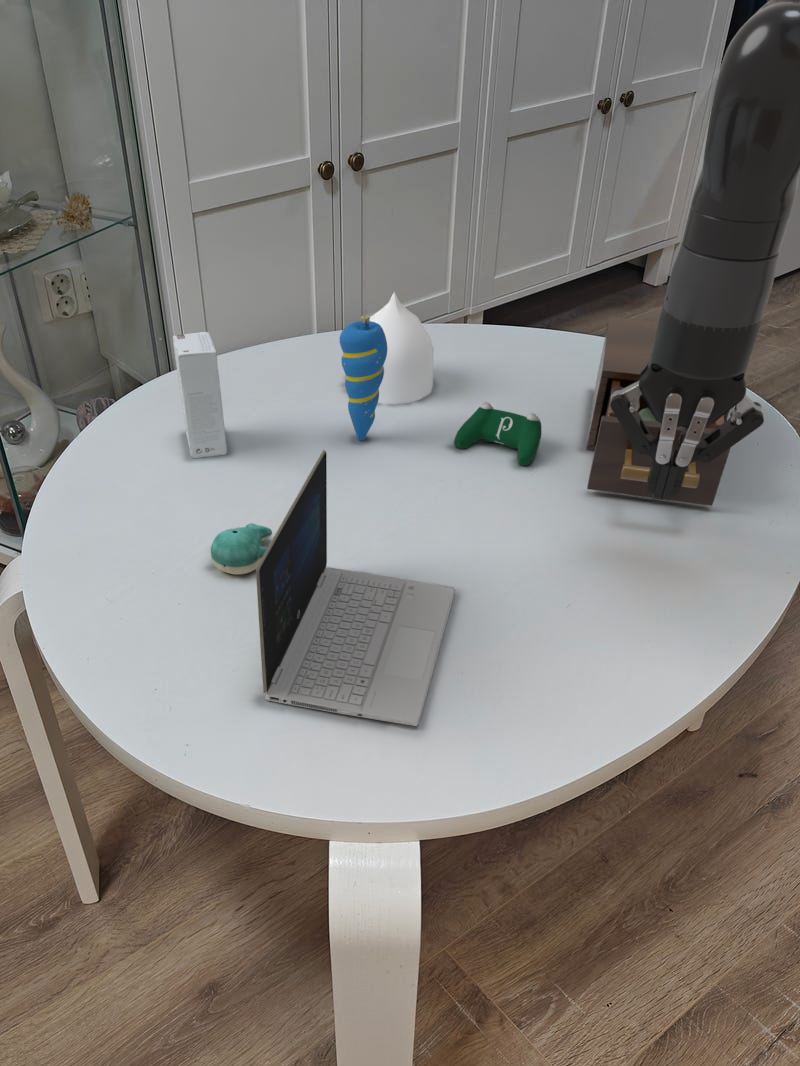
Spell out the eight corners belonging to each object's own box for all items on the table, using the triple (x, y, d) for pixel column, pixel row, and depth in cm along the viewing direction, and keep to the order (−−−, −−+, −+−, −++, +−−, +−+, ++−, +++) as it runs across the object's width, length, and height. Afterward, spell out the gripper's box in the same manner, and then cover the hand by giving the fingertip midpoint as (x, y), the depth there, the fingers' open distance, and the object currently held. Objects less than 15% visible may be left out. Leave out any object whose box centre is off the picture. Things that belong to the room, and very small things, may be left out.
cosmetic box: (228, 455, 102) (220, 351, 95) (189, 460, 102) (177, 356, 94) (221, 430, 107) (212, 329, 99) (183, 434, 106) (171, 333, 98)
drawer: (714, 532, 88) (737, 460, 83) (583, 513, 91) (598, 443, 86) (707, 440, 102) (727, 374, 97) (595, 426, 105) (608, 362, 100)
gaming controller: (533, 474, 102) (552, 425, 102) (527, 463, 99) (547, 412, 99) (458, 454, 106) (476, 407, 106) (450, 443, 102) (469, 393, 102)
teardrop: (367, 362, 122) (370, 270, 114) (445, 376, 118) (453, 283, 110) (332, 394, 114) (332, 299, 106) (414, 411, 110) (420, 313, 103)
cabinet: (712, 467, 100) (737, 384, 93) (585, 451, 103) (602, 370, 96) (707, 405, 111) (729, 328, 105) (593, 392, 114) (609, 317, 108)
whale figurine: (198, 569, 86) (194, 536, 83) (237, 531, 91) (234, 498, 88) (251, 586, 84) (249, 552, 81) (288, 545, 89) (287, 512, 86)
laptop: (417, 732, 69) (429, 597, 61) (262, 701, 72) (252, 568, 63) (455, 593, 82) (469, 467, 74) (322, 572, 85) (322, 447, 77)
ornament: (334, 447, 104) (335, 317, 94) (344, 427, 107) (345, 300, 98) (378, 452, 103) (384, 322, 93) (387, 431, 106) (393, 304, 97)
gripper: (625, 314, 70) (584, 506, 81) (809, 332, 67) (740, 528, 79) (627, 282, 76) (588, 466, 87) (797, 297, 73) (734, 485, 84)
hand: (660, 495), depth 83 cm, fingers closed
